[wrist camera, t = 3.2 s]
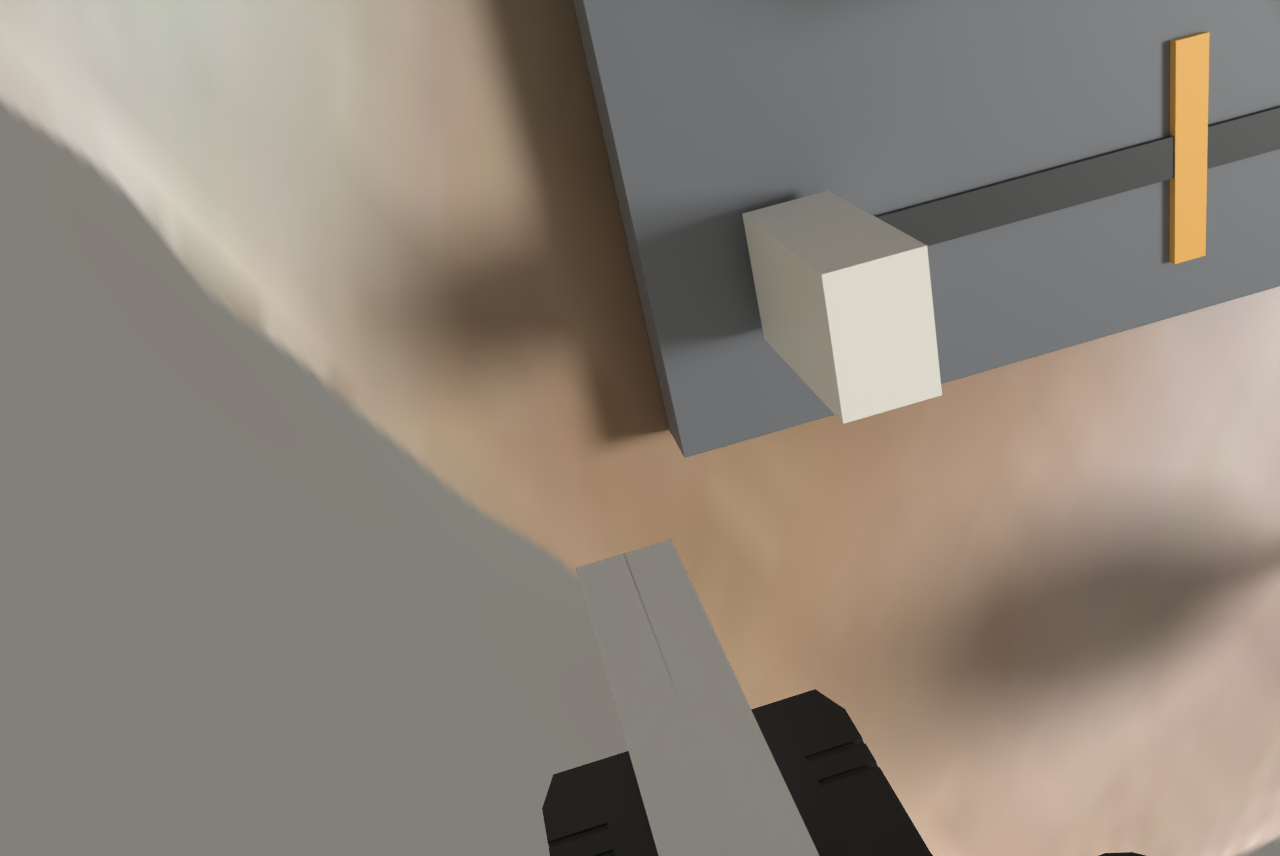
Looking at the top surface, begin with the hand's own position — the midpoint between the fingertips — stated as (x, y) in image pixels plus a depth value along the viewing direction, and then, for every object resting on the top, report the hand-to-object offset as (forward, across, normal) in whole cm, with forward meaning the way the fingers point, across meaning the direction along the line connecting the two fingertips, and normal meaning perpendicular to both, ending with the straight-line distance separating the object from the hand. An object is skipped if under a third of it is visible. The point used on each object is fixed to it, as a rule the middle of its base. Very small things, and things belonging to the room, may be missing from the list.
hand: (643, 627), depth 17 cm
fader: (+13, +7, 0) cm, 15 cm away
